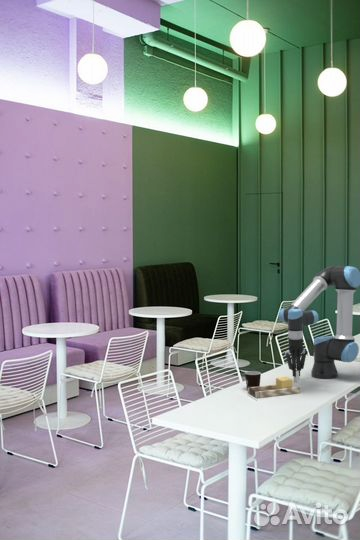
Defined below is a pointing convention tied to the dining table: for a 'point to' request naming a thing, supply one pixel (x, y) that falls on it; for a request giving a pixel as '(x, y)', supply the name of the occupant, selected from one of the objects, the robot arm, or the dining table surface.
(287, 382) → the mustard block
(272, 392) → the brown checkered tray
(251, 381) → the coffee mug
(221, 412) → the dining table surface
